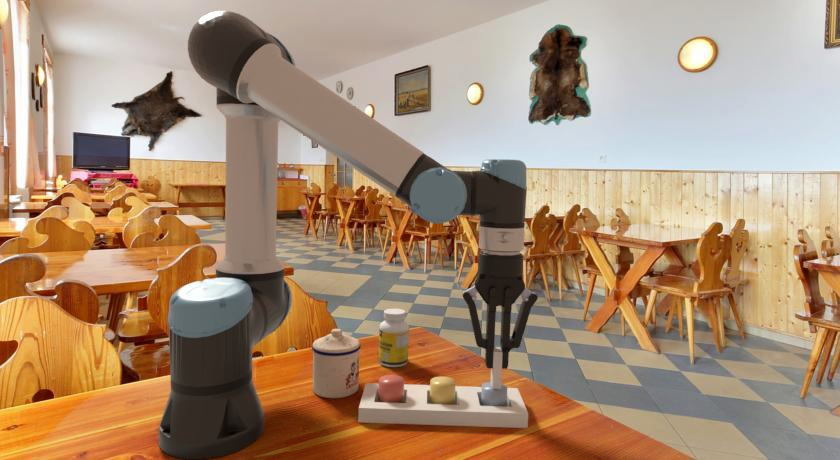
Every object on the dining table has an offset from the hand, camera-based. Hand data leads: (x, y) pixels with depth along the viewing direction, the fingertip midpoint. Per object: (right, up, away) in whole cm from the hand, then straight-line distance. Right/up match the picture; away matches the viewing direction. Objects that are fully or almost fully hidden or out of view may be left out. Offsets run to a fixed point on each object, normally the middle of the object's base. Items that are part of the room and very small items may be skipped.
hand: (495, 385), depth 87 cm
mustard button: (-9, -3, 0) cm, 10 cm away
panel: (-9, -5, +1) cm, 10 cm away
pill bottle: (-19, -2, +23) cm, 30 cm away
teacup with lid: (-29, -3, +10) cm, 31 cm away
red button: (-18, -3, +1) cm, 18 cm away
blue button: (0, -4, 0) cm, 4 cm away
